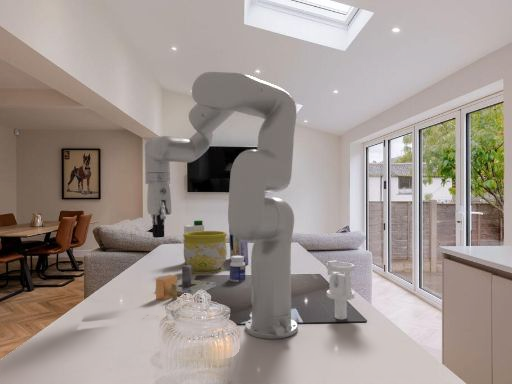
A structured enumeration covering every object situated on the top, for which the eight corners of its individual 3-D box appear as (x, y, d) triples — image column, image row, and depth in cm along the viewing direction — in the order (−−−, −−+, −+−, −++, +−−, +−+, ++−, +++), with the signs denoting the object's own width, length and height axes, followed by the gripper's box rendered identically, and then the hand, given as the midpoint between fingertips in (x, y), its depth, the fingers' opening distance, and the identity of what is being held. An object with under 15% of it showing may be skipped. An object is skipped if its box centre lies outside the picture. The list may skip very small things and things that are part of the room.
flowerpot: (232, 274, 145) (232, 234, 145) (188, 279, 138) (187, 236, 138) (220, 266, 162) (220, 230, 162) (180, 270, 155) (179, 232, 155)
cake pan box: (228, 258, 182) (228, 223, 182) (238, 257, 184) (238, 223, 184) (238, 265, 164) (238, 226, 164) (248, 264, 165) (248, 226, 165)
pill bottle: (243, 286, 127) (243, 258, 127) (227, 285, 128) (227, 257, 128) (247, 282, 133) (246, 255, 133) (232, 281, 134) (231, 254, 134)
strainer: (321, 314, 96) (321, 258, 96) (344, 311, 99) (343, 257, 99) (336, 323, 90) (336, 263, 90) (360, 319, 92) (359, 261, 92)
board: (234, 300, 110) (234, 271, 110) (145, 309, 102) (145, 278, 102) (218, 281, 134) (217, 257, 134) (145, 287, 127) (145, 261, 127)
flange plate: (182, 282, 127) (182, 265, 127) (216, 286, 121) (216, 268, 121) (142, 296, 109) (141, 277, 110) (179, 302, 103) (178, 281, 103)
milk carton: (206, 264, 167) (205, 221, 168) (187, 265, 164) (186, 222, 164) (200, 261, 175) (200, 220, 175) (182, 262, 172) (182, 220, 172)
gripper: (177, 178, 110) (178, 238, 109) (161, 180, 122) (162, 234, 122) (153, 177, 105) (154, 240, 105) (139, 180, 118) (139, 236, 118)
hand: (158, 237), depth 114 cm, fingers closed
